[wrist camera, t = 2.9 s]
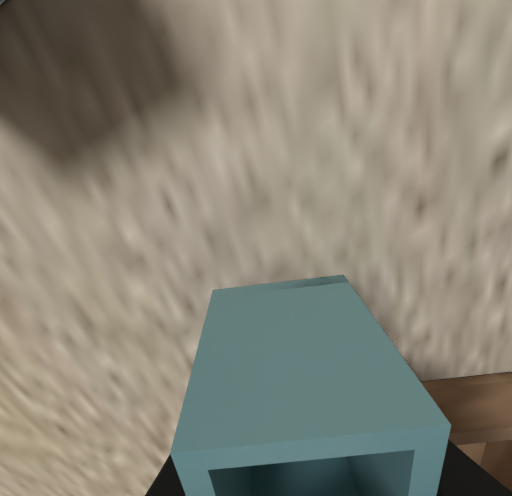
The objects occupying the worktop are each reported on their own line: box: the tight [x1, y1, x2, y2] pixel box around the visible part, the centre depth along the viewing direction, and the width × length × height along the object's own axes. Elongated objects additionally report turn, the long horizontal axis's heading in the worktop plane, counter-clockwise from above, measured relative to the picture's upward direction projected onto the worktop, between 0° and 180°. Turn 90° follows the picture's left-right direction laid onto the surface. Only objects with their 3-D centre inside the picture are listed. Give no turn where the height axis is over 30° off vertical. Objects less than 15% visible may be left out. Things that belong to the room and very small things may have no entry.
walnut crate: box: [421, 372, 512, 491], centre depth 18 cm, size 10×13×3 cm
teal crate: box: [170, 275, 451, 496], centre depth 9 cm, size 5×8×6 cm, turn 7°
